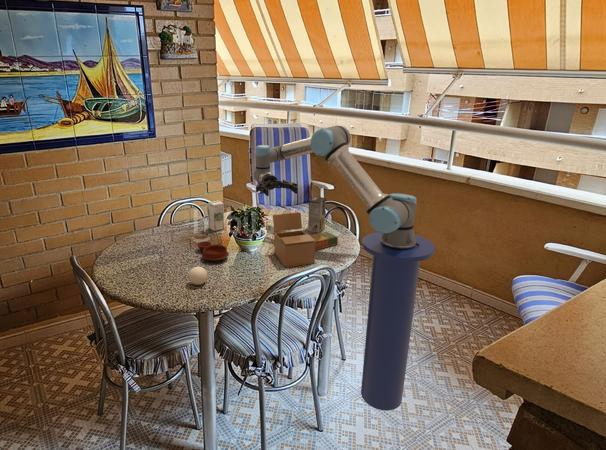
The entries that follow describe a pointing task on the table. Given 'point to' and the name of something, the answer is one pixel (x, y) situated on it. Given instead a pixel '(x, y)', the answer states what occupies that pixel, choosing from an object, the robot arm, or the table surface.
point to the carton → (324, 240)
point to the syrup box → (216, 215)
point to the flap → (287, 221)
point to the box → (294, 248)
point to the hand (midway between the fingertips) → (282, 192)
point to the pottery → (213, 251)
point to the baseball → (198, 275)
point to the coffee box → (316, 214)
